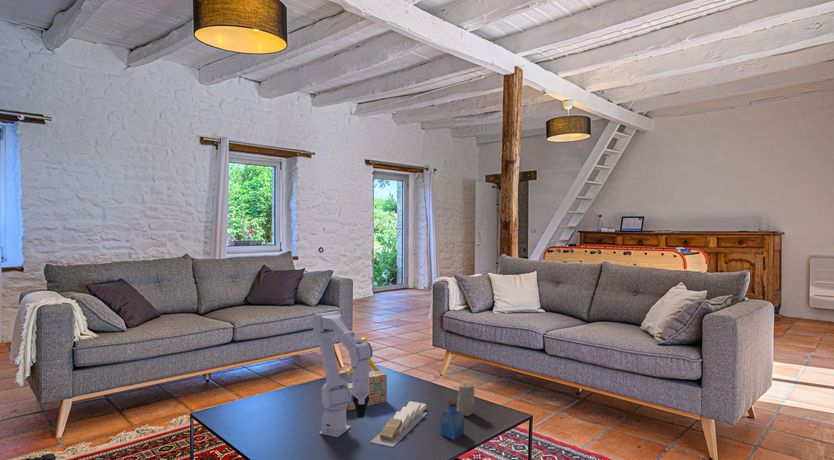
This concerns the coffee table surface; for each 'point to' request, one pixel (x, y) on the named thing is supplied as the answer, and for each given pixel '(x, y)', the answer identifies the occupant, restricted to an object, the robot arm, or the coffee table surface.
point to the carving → (466, 399)
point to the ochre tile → (391, 429)
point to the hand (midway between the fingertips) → (360, 417)
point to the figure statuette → (369, 363)
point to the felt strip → (398, 436)
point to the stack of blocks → (373, 389)
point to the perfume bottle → (452, 422)
